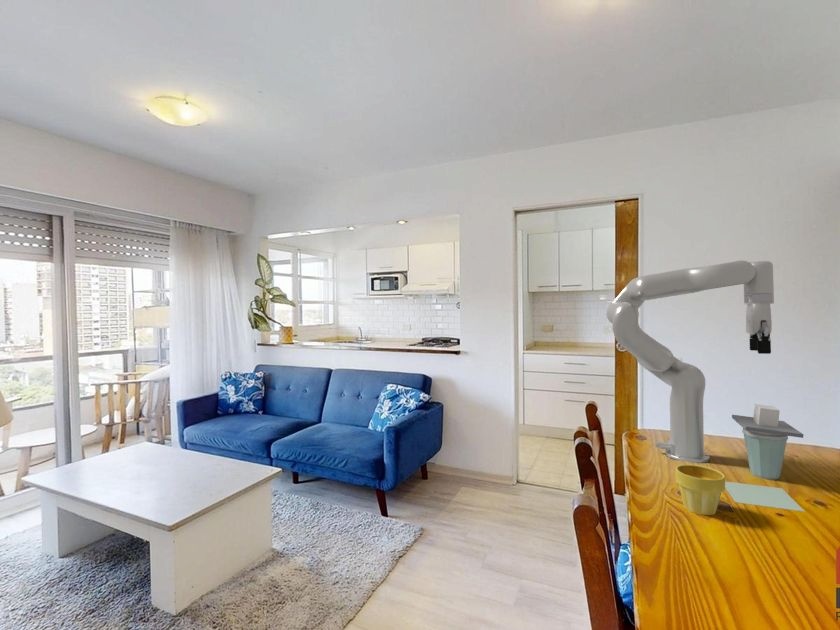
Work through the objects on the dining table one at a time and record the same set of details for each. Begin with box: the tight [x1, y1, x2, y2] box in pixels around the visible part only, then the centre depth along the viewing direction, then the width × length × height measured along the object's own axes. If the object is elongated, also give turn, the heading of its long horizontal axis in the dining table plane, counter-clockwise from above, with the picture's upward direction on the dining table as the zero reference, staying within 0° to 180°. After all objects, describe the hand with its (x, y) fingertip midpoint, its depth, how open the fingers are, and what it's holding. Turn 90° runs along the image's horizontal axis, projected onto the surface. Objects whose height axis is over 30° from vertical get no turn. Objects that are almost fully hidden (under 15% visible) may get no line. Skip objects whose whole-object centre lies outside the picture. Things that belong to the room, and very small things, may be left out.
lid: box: [731, 404, 804, 439], centre depth 122 cm, size 13×13×6 cm
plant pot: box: [674, 463, 726, 516], centre depth 104 cm, size 10×10×10 cm
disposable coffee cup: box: [741, 427, 789, 481], centre depth 123 cm, size 11×11×15 cm
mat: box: [725, 481, 806, 513], centre depth 110 cm, size 14×14×1 cm
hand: (759, 351), depth 135 cm, fingers open, 9 cm apart
